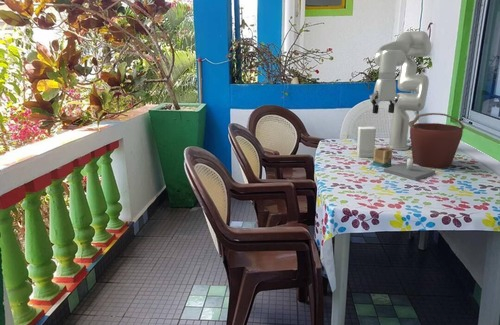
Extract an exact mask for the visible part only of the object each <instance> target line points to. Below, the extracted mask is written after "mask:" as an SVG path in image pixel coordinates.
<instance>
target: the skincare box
mask: <svg viewBox="0 0 500 325" xmlns="http://www.w3.org/2000/svg"><path fill="white" fill-rule="evenodd" d="M357 129H358V130H357V144H356V145H357V147H356V155H357V157H358V158H374V149H376V148H375V147H376V133H377V132H376V131H377V129H376V127H375V126H358V128H357Z"/></svg>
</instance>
